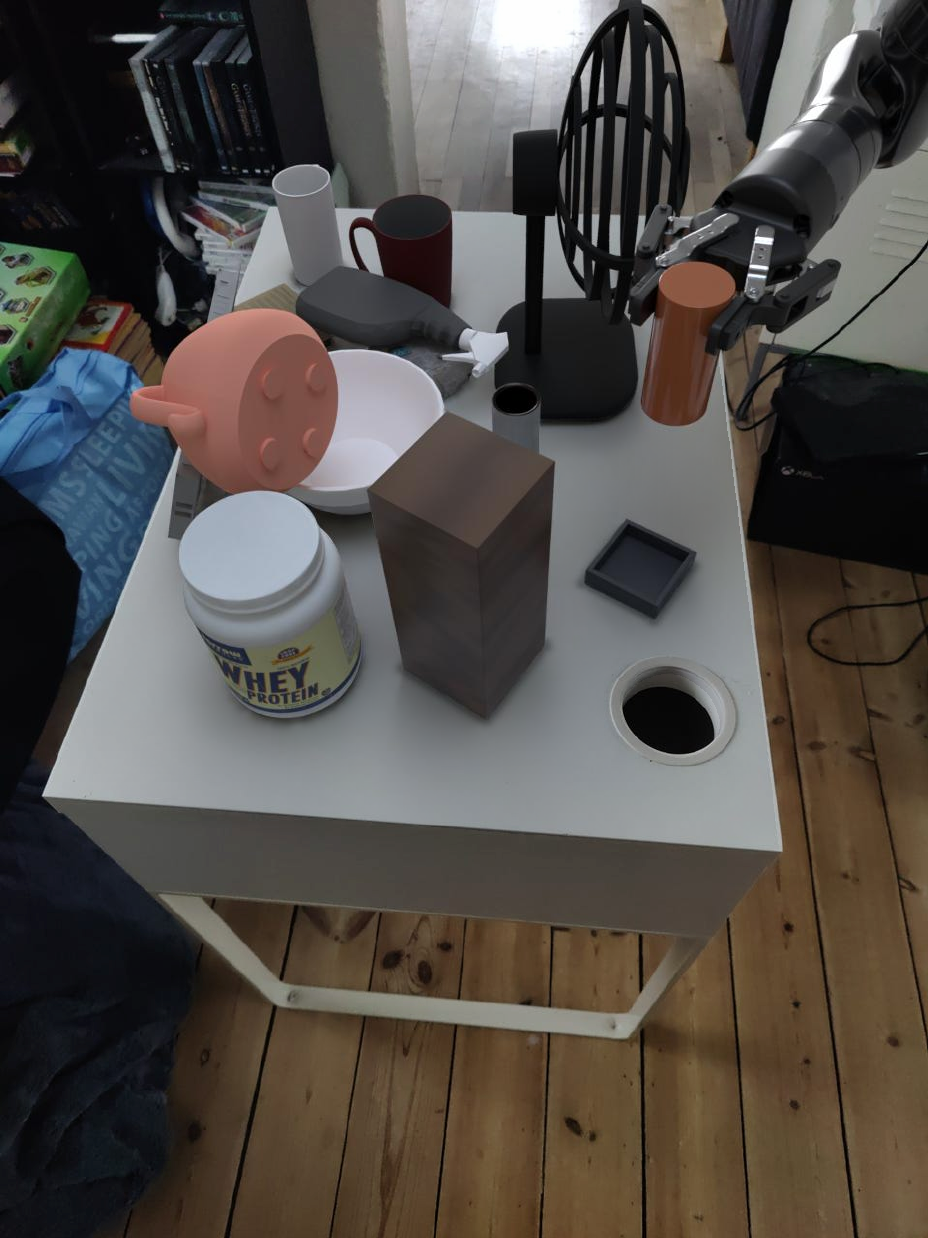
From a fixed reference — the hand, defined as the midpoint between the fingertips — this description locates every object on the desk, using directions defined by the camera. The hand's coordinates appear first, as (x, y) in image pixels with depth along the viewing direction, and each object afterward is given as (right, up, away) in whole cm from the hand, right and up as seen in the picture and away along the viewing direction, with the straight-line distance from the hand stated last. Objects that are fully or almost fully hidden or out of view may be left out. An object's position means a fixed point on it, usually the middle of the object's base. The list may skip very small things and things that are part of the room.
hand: (673, 327), depth 55 cm
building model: (-38, +2, +29) cm, 48 cm away
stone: (-23, +12, +42) cm, 50 cm away
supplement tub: (-28, -23, +21) cm, 42 cm away
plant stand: (-13, -22, +21) cm, 33 cm away
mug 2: (-20, +20, +50) cm, 57 cm away
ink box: (-31, +18, +46) cm, 59 cm away
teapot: (-27, -2, +16) cm, 31 cm away
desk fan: (-1, +10, +42) cm, 43 cm away
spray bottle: (-30, +19, +43) cm, 56 cm away
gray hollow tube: (-8, -4, +33) cm, 34 cm away
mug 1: (-31, +27, +55) cm, 69 cm away
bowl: (-25, -4, +34) cm, 42 cm away
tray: (+3, -14, +25) cm, 29 cm away
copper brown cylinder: (+2, -3, +8) cm, 9 cm away
